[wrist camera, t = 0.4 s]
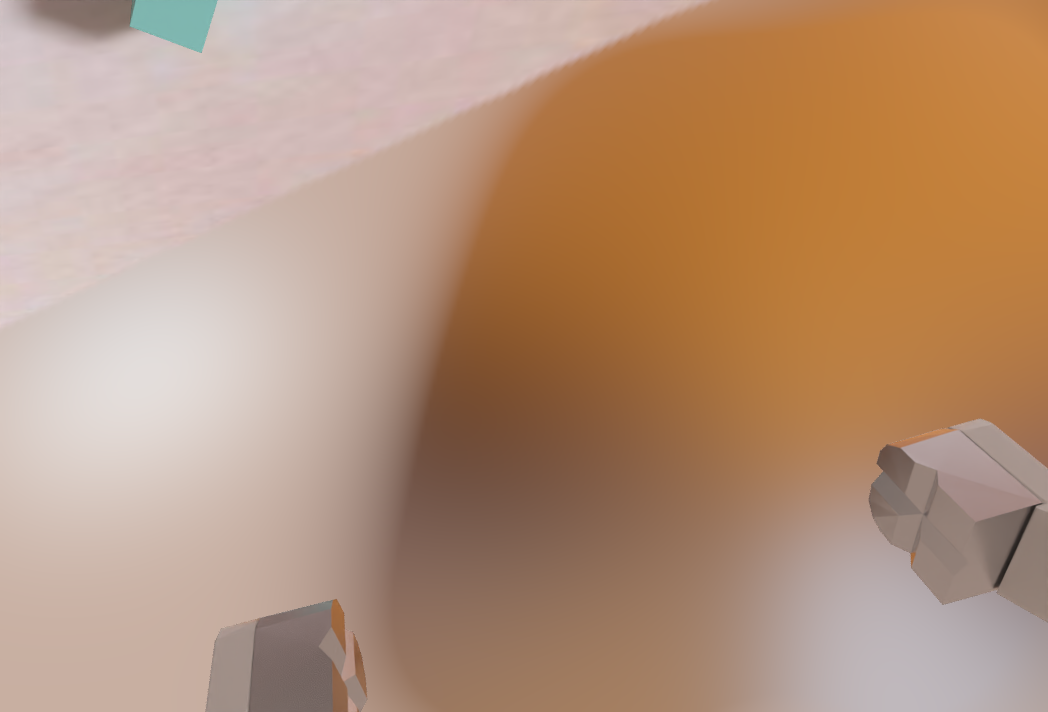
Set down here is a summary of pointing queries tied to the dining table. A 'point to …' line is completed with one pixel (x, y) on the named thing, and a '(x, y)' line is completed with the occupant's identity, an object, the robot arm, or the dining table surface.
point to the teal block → (174, 20)
